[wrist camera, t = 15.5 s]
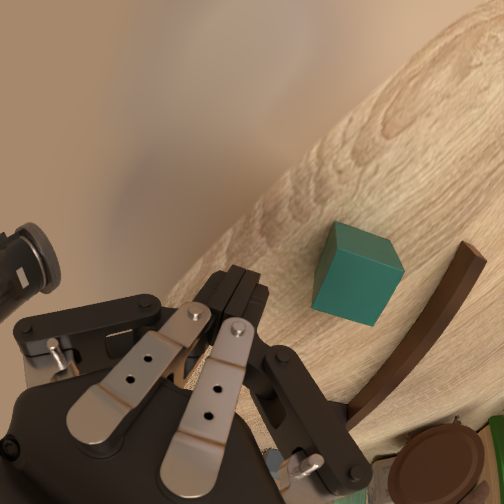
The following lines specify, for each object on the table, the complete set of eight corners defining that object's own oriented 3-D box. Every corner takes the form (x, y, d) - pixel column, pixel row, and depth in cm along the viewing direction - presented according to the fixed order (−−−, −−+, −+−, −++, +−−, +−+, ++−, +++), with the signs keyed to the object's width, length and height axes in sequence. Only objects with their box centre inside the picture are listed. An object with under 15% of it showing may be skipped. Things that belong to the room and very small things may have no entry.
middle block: (299, 413, 30) (294, 443, 26) (313, 397, 28) (308, 429, 24) (331, 420, 29) (328, 449, 25) (347, 404, 27) (345, 436, 23)
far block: (262, 454, 39) (256, 474, 35) (269, 447, 37) (263, 469, 33) (285, 460, 38) (280, 480, 35) (294, 453, 36) (289, 475, 32)
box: (342, 489, 44) (339, 513, 38) (309, 479, 43) (304, 506, 36) (368, 484, 41) (365, 509, 34) (337, 474, 39) (333, 504, 33)
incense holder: (404, 466, 34) (403, 508, 25) (365, 471, 37) (361, 514, 28) (418, 449, 30) (419, 498, 21) (374, 455, 33) (371, 506, 24)
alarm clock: (395, 448, 31) (388, 551, 13) (385, 435, 29) (377, 554, 12) (475, 418, 24) (487, 522, 7) (476, 399, 23) (493, 521, 5)
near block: (314, 273, 21) (311, 308, 17) (334, 220, 19) (337, 247, 15) (366, 289, 20) (372, 327, 16) (390, 240, 18) (405, 271, 14)
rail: (289, 464, 39) (287, 475, 37) (282, 463, 39) (279, 473, 37) (474, 246, 16) (487, 261, 14) (462, 240, 16) (475, 254, 14)
